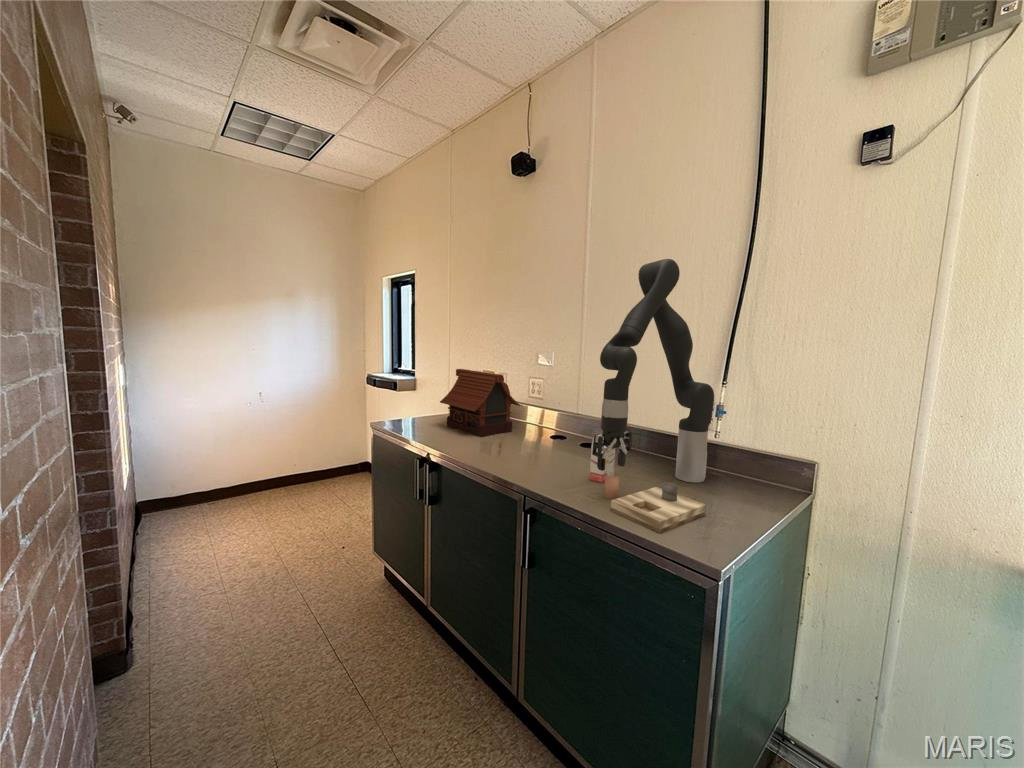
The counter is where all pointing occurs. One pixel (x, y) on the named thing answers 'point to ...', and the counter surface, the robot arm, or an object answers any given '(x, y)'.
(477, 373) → the house
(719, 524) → the counter surface
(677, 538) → the counter surface
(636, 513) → the pin board
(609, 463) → the ink cartridge box
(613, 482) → the terracotta pin
